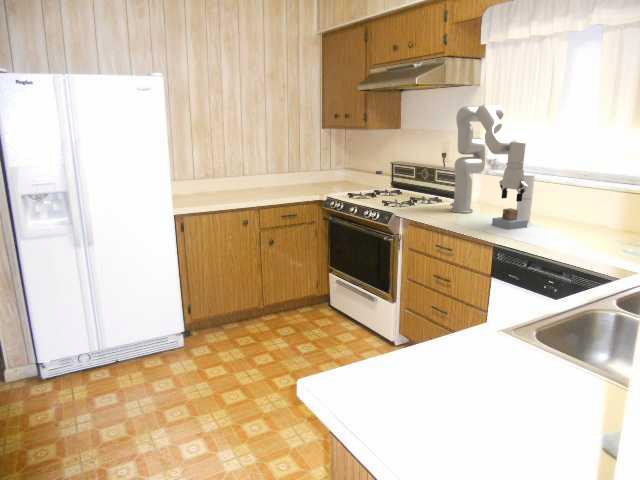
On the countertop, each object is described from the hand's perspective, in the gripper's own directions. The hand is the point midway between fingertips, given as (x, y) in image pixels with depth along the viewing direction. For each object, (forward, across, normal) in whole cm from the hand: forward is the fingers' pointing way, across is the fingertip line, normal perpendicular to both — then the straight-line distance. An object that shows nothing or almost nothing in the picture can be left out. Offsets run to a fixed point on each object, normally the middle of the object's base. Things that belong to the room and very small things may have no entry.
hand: (511, 199), depth 252 cm
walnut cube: (+10, 0, 0) cm, 10 cm away
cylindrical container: (+14, -4, +15) cm, 21 cm away
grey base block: (+14, 0, 0) cm, 14 cm away
